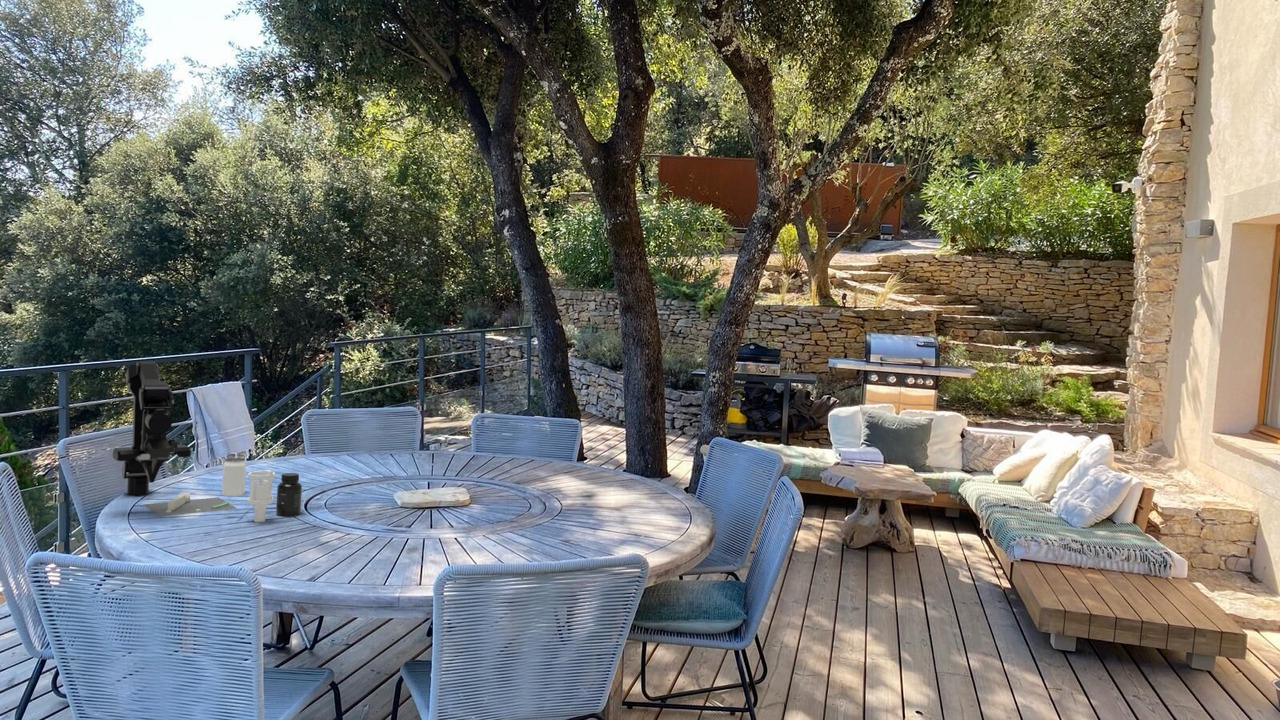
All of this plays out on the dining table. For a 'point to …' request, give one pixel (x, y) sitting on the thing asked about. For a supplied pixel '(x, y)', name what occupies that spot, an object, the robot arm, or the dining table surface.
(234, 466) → the can
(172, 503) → the beige wooden bar
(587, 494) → the dining table surface
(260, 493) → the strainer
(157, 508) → the dial board
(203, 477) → the dining table surface
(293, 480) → the supplement bottle
